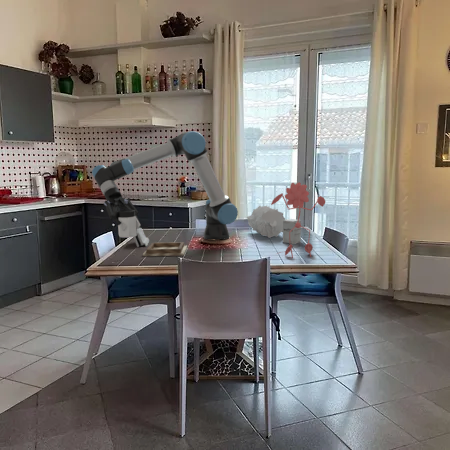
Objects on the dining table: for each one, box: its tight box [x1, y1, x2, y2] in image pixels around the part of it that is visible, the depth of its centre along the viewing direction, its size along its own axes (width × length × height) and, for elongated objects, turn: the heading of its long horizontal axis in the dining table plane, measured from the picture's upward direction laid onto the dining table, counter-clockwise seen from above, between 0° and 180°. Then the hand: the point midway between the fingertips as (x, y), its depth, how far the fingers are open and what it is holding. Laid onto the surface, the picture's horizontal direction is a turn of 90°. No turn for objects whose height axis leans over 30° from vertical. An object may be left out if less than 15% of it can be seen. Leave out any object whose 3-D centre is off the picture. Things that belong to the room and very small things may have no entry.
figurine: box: [270, 181, 326, 259], centre depth 209 cm, size 15×26×35 cm, turn 103°
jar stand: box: [142, 241, 188, 257], centre depth 223 cm, size 20×19×3 cm
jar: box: [117, 209, 137, 238], centre depth 205 cm, size 9×8×12 cm
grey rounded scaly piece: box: [246, 205, 286, 239], centre depth 262 cm, size 18×18×25 cm
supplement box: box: [282, 218, 302, 245], centre depth 239 cm, size 7×7×13 cm
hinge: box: [133, 227, 150, 248], centre depth 243 cm, size 17×5×10 cm, turn 4°
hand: (131, 228), depth 203 cm, fingers closed on jar, 7 cm apart
